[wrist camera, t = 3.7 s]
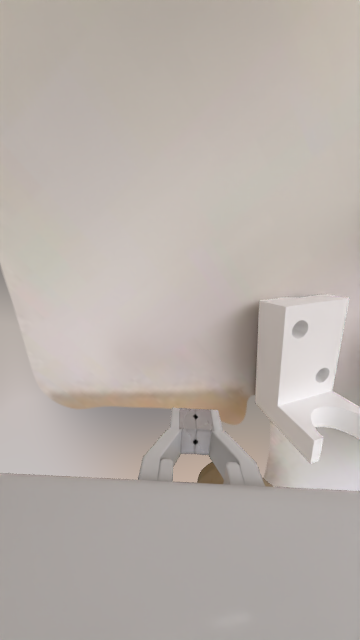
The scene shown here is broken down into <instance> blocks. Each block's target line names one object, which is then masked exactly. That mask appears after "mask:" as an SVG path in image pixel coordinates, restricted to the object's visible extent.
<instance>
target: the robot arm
mask: <svg viewBox="0 0 360 640" xmlns="http://www.w3.org/2000/svg"><path fill="white" fill-rule="evenodd" d="M180 454H200V455H209V457H210V459H211V460H212V462H213V463H214V465H215V466H216V468H217V469H218V471H219V473H220V474H221V476H222V477H223V479H224V482H223V484H209V483H189V482H172V480H173V467H174V465H175V463H176V462H177V459H178V458H179V456H180ZM0 640H360V491H347V490H327V489H307V488H288V487H268V486H265V484H264V482H263V479H262V476H261V474H260V471H259V468H258V466H257V463H256V462H255V461H254V460H253V459H252V458H251V457H250V456H249V455H248V454H247V453H246V452H245V451H244V450H243V448H241V446H239V444H238V443H237V442H236V441H235V440H234V439H233V438H232V437H231V436H230V435H229V434H228V433H227V432H226V431H223V428H222V424H221V420H220V416H219V412H218V410H205V409H186V408H172V410H171V422H170V429H167V430H166V431H165V432H164V434H162V435H161V437H160V438H159V439H158V440H157V441H156V442H155V444H154V445H153V446H152V447H151V448H150V450H149V451H148V452H147V453H146V454H145V455H144V456H143V459H142V464H141V468H140V473H139V477H138V480H129V479H110V478H90V477H70V476H49V475H30V474H28V475H27V474H9V473H0Z"/></svg>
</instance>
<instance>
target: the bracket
mask: <svg viewBox="0 0 360 640" xmlns="http://www.w3.org/2000/svg"><path fill="white" fill-rule="evenodd" d="M349 299H350V297H343V296H335V295H326V294H320V295H312V296H305V297H298V298H293V297H282V298H275V299H268V300H261V301H259V321H258V345H257V369H256V393H255V404H257V406H258V407H259V408H260V409H261V410H262V411H263V412H264V413H265V415H267V417H268V418H269V419H270V420H271V421H272V422H273V423H274V424H275V426H276V427H277V428H278V429H279V430H280V431H281V432H282V433H283V434H284V435H285V436H286V438H287V439H288V440H289V441H290V442H291V443H292V444H293V445H294V446H295V447H296V449H297V450H298V451H299V452H300V453H301V454H302V455H303V456H304V457H305V458H306V460H307V461H308V462H309V463H310V464H311V463H314V462H317V461H319V460H320V454H321V449H322V443H323V438H324V437H323V436H322V435H321V434H320V433H319V432H318V431H317V430H316V429H315V428H318V427H329V428H334V429H338V430H341V431H343V432H346V433H348V434H350V435H352V436H354V437H356V438H357V439H359V440H360V407H359V406H357V405H356V404H354V403H352V402H351V401H349V400H347V399H346V398H344V397H343V396H341V395H339V394H338V393H336V392H334V391H333V385H334V380H335V375H336V369H337V364H338V358H339V353H340V347H341V342H342V337H343V331H344V326H345V320H346V315H347V309H348V304H349Z"/></svg>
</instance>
